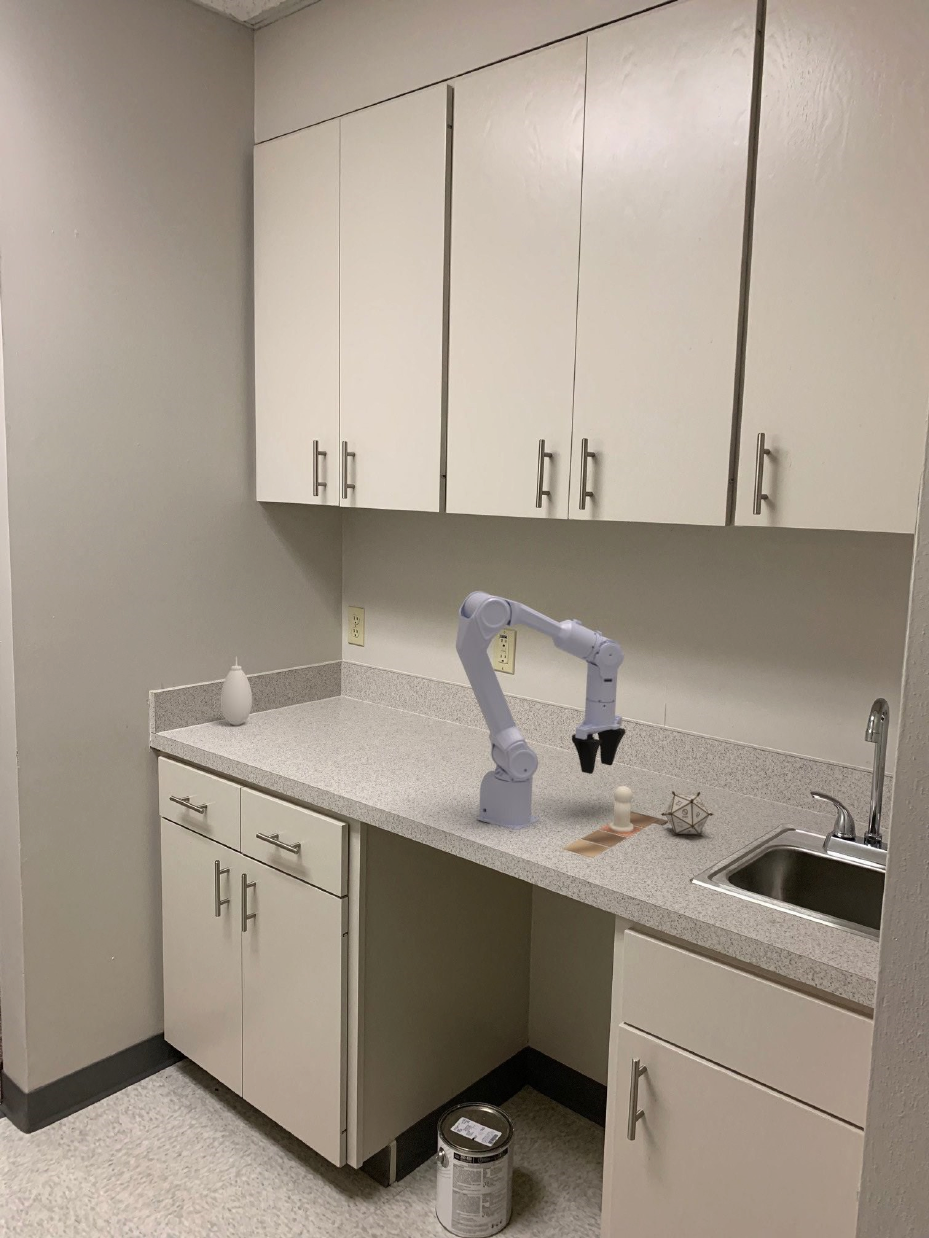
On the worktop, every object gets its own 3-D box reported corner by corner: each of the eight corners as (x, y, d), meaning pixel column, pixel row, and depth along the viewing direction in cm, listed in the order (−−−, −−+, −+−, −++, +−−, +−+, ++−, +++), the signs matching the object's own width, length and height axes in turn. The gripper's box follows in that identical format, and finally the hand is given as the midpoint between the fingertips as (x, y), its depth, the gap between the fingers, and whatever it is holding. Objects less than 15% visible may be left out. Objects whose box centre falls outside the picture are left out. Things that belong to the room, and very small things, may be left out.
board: (551, 850, 164) (551, 847, 164) (626, 811, 186) (626, 809, 186) (597, 863, 159) (597, 861, 159) (668, 822, 181) (668, 820, 181)
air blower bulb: (240, 729, 240) (240, 659, 237) (214, 726, 242) (214, 657, 240) (257, 723, 247) (257, 655, 244) (232, 719, 250) (232, 652, 247)
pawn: (604, 829, 174) (607, 786, 173) (616, 823, 178) (618, 781, 177) (626, 835, 172) (628, 791, 171) (637, 828, 175) (640, 786, 174)
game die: (688, 851, 176) (714, 805, 178) (701, 851, 168) (728, 803, 170) (647, 824, 177) (673, 779, 179) (658, 823, 169) (685, 776, 171)
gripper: (600, 708, 172) (596, 780, 174) (637, 696, 184) (633, 764, 185) (567, 702, 176) (564, 773, 178) (605, 691, 188) (601, 757, 190)
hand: (597, 768), depth 182 cm, fingers open, 7 cm apart
